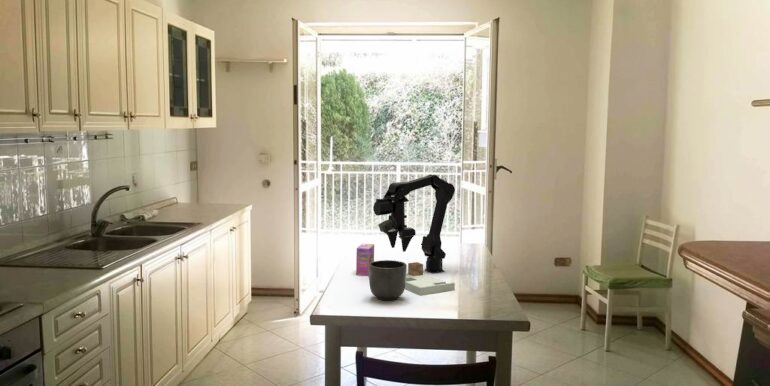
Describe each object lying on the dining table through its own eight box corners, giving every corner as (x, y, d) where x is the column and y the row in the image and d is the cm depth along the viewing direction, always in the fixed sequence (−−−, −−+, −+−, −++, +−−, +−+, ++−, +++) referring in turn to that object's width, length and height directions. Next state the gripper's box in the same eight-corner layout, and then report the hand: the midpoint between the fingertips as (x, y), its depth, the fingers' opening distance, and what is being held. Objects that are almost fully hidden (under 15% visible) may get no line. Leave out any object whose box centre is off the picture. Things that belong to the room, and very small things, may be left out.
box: (369, 275, 261) (369, 248, 260) (356, 275, 262) (356, 247, 261) (374, 270, 271) (374, 244, 270) (361, 269, 273) (361, 243, 271)
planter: (379, 305, 217) (379, 270, 216) (362, 296, 229) (362, 262, 228) (413, 301, 223) (413, 266, 222) (395, 291, 236) (395, 258, 234)
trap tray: (419, 276, 261) (419, 269, 260) (454, 290, 239) (454, 283, 239) (386, 280, 253) (386, 274, 252) (420, 295, 231) (420, 288, 231)
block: (417, 272, 259) (417, 262, 258) (423, 274, 255) (423, 264, 255) (408, 273, 257) (408, 263, 256) (413, 276, 253) (414, 265, 252)
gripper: (370, 212, 261) (371, 248, 263) (392, 217, 245) (393, 256, 247) (392, 209, 267) (393, 245, 268) (415, 215, 250) (416, 252, 252)
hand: (398, 249), depth 259 cm, fingers open, 9 cm apart
